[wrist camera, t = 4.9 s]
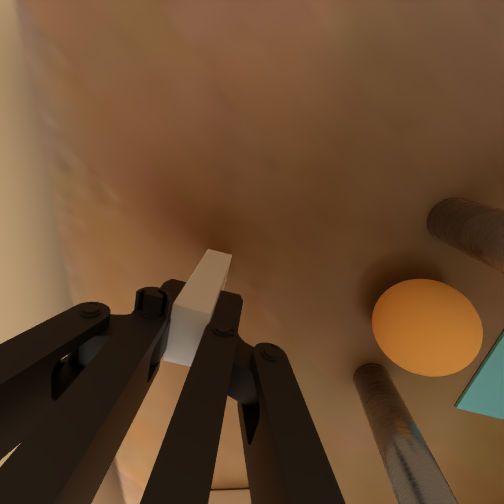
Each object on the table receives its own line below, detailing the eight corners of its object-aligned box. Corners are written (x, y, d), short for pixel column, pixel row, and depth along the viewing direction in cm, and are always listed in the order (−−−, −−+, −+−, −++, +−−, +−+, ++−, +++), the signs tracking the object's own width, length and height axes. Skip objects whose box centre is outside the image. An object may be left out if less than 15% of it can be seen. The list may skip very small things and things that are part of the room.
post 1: (394, 368, 21) (477, 513, 13) (380, 394, 22) (449, 546, 14) (360, 360, 21) (421, 500, 13) (348, 386, 22) (397, 534, 13)
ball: (533, 321, 14) (438, 306, 13) (476, 403, 16) (389, 396, 15) (448, 270, 19) (375, 256, 18) (413, 337, 21) (344, 328, 20)
